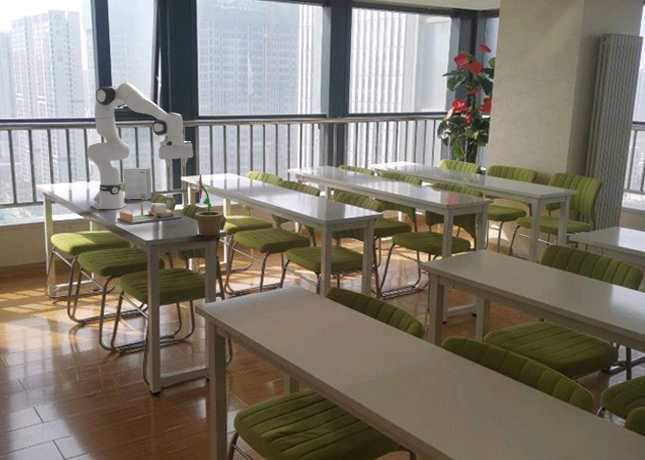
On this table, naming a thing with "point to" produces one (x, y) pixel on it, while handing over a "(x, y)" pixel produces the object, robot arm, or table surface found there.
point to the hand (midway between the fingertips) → (176, 166)
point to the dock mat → (151, 220)
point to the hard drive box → (137, 183)
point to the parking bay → (130, 218)
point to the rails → (148, 217)
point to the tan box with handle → (162, 208)
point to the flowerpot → (208, 217)
